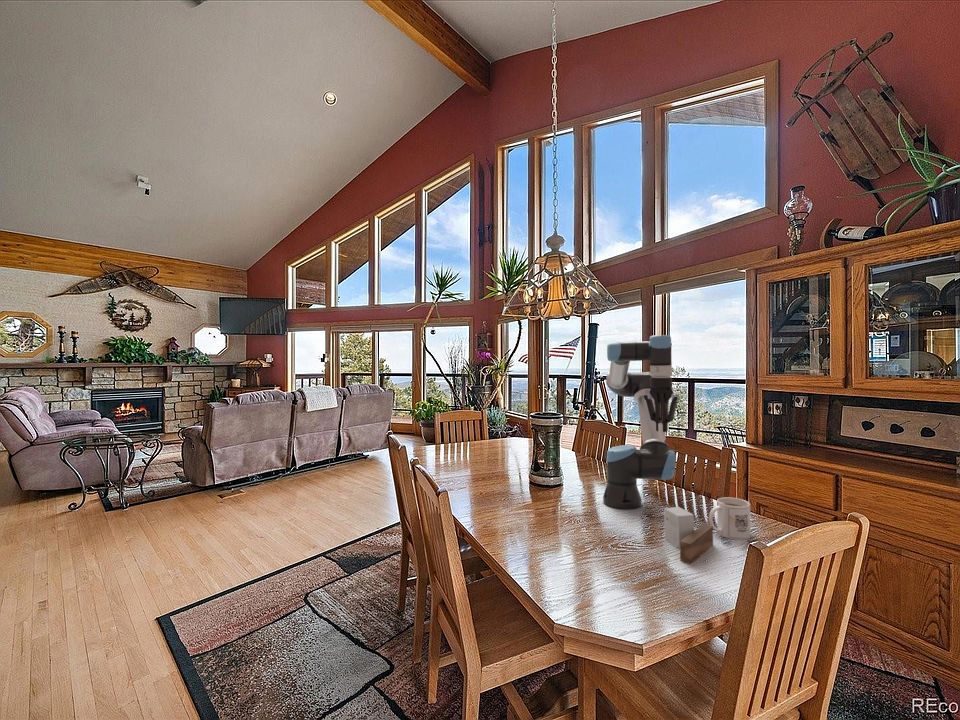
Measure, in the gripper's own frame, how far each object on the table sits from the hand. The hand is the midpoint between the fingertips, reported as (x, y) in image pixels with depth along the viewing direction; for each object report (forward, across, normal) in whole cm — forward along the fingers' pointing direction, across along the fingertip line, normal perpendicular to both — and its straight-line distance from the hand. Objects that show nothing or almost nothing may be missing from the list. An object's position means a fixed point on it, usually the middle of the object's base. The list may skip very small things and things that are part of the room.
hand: (662, 440), depth 167 cm
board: (+29, +20, -20) cm, 41 cm away
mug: (+30, +22, +2) cm, 37 cm away
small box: (+30, +13, -17) cm, 36 cm away
